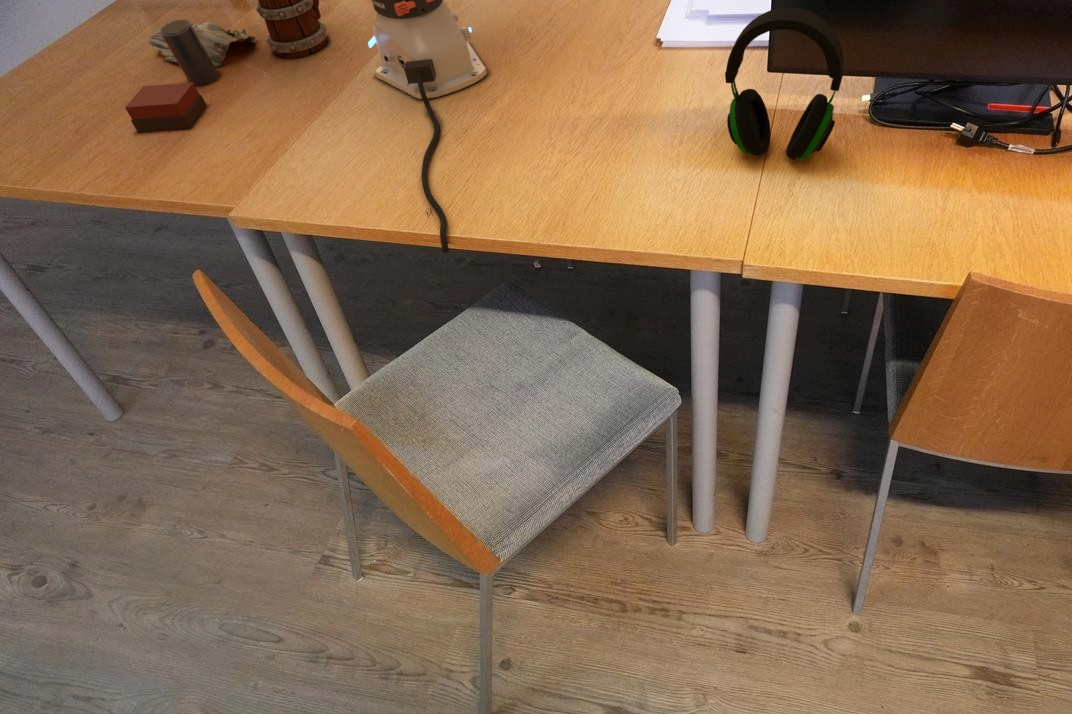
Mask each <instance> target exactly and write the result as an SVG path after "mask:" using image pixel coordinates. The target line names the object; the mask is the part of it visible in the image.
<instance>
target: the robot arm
mask: <svg viewBox="0 0 1072 714" xmlns="http://www.w3.org/2000/svg"><path fill="white" fill-rule="evenodd" d="M370 2H371V3H372V6H373V9H374V11H375V13H376V14H375V15H376V18H375V19H374V23H373V25H372V27H371V29H372V34H373V36H372V38H371V39H370V40H369V41H368V42H367V45H368V48H369V49H371V48H373V46H374V45H376V49H377V52H378V53H377V54H378V57H379V60H380V65H379V67H377V68H376V70H375V75H376V78H377V79H379V80H381V81H383V82H385V83H387V84H389V85H391V86H392V87H395V88H397V89H399V90H400V91H402V92H404V93H406V94H408V95H410V96H412V97H414V98H415V99H418V100H422V102H423V104H424V106H425V109H426V113H427V114H428V116H429V119H430V120H431V122H432V124H433V135H432V138H431V140H430V141H429V145H427V148H426V150H425V152H424V155H423V160H422V165H421V184H422V190H423V192H424V196H425V197H426V199H427V201H428V202H429V204H430V205H431V207H432V208H433V209H434V212H436V214H437V216H438V218H439V222H440V227H439V239H440V245H441V250H442V253H444V254H447V253H449V252H450V249H449V244H448V236H447V230H448V222H447V217H446V214H445V212H444V210H443V208H442V207H441V206H440V204H439V203H438V201H437V200H436V199H435V196H433V194H432V191H431V189H430V186H429V179H428V178H429V177H428V174H429V165H430V160H431V156H432V153H433V151H434V149H435V146H437V142H438V141H439V138H440V131H441V130H440V123H439V120H438V119H437V117H436V115H435V113H434V111H433V108H432V106H431V103H430V101H429V99H434V98H438V97H442V96H445V95H449V94H451V93H454V92H457V91H460V90H462V89H465V88H467V87H469V86H472V85H474V84H476V83H477V82H479V81H480V80H482V79H483V78H484V77H485V76H486V75H488V72H487V68H486V67H485V65H484V64H483V62H482V60H481V58H479V56H478V55H477V53H476V51H475V50H474V49H473V47H472V45H471V44H470V42H469V41H471V40H472V35H471V33H472V32H473V30H472V27H471V26H469V27H468V26H461V27H460V26H459V24H458V23H459V17H458V15H457V13H452V12H451V10H450V8H449V7H448V3H447V2H446V1H445V0H370Z"/></svg>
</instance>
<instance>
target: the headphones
mask: <svg viewBox="0 0 1072 714" xmlns="http://www.w3.org/2000/svg"><path fill="white" fill-rule="evenodd" d="M779 30H785V31H786V30H787V31H793V32H797V33H800V34H803V35H804V36H806V37H808V38H809V39H811V40H812V41H813V42H814V43H816V45H817V46H818V47H819V48H820V50H821V51H822V53H823V56H824V59H825V61H826V68H827V75H828V77H829V78H830V79H831V84H830V87H829V88H830V89H829V90H830V91H833V93H832V95H831V96H830V99H829V100H828V96H827V95H825V94H823V93H817V94H816V95H814V96H813V97H812V99H810V101H809V103H808V104H807V107H806V108H805V110H804V111H803V113H802V115H801V117H800V118H799V120H798V122H797V123H796V126H795V128H794V130H793V132H792V134H791V136H790V139H789V141H788V144H787V147H786V149H785V155H786V157H787V158H788V159H790V160H793V161H794V160H797V159H801V160H807V159H808V158H809V157H810V156H811V155H812V154H814V153H819V152H820V151H821V150H822V149H823V147H824V145H825V144H826V142H827V141H828V139H829V137H830V135H831V133H832V131H833V129H834V127H835V123H836V121H835V120H834V118H833V117H834V109H835V106H834V104H832V102H833V100H834V97H835V94H836V92H839V91H840V88H841V84H842V82H843V76H844V73H845V70H844V54H843V48H842V45H841V42H840V39H839V37H838V36H837V34H836V32H835V31H834V29H833V28H832V27H831V26H830V25H829V23H828V22H827V21H825V20H824V19H823V18H822V17H821V16H819V15H818V14H816V13H814V12H812V11H810V10H807V9H804V8H800V7H792V6H791V7H787V6H785V7H778V8H774V9H770V10H768V11H766V12H763V13H761V14H759V15H758V16H757V17H755V18H754V19H752V20H751V21H750V22H748V24H747V25H746V26H744V28H743V29H742V31H741V32H740V33H739V35H738V37H737V38H736V40H735V43H734V44H733V46H732V49H731V51H730V52H729V55H728V58H727V62H726V69H725V72H724V78H725V79H724V80H725V83H726V84H730V88H731V92H732V96H733V99H732V100H731V102H730V105H729V113H728V114H727V118H726V119H727V120H726V122H727V124H726V125H727V129H728V134H729V137H730V139H731V141H732V142H733V143H734V145H736V146H737V148H738V150H739V151H740V152H741V153H742V154H745V155H752V156H754V157H759V156H760V157H761V156H763V155H765V154H766V153H767V152H768V151H769V149H770V145H771V139H772V138H771V137H772V136H771V134H772V131H771V123H770V118H769V117H770V116H769V113H768V110H767V106H766V104H765V101H764V99H763V98H762V96H761V94H759V92H758V91H757V90H756V89H754V88H746V89H744V90H741V92H740V93H739V90H738V88H737V84H736V78H737V77H738V74H739V70H740V67H741V65H742V63H743V61H744V57H745V55H744V54H745V53H746V52H745V51H746V49H747V47H749V45H750V44H751V43H752V42H753V41H754V40H756V38H758V37H760V36H762V35H764V34H767V33H769V32H772V31H779Z"/></svg>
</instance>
